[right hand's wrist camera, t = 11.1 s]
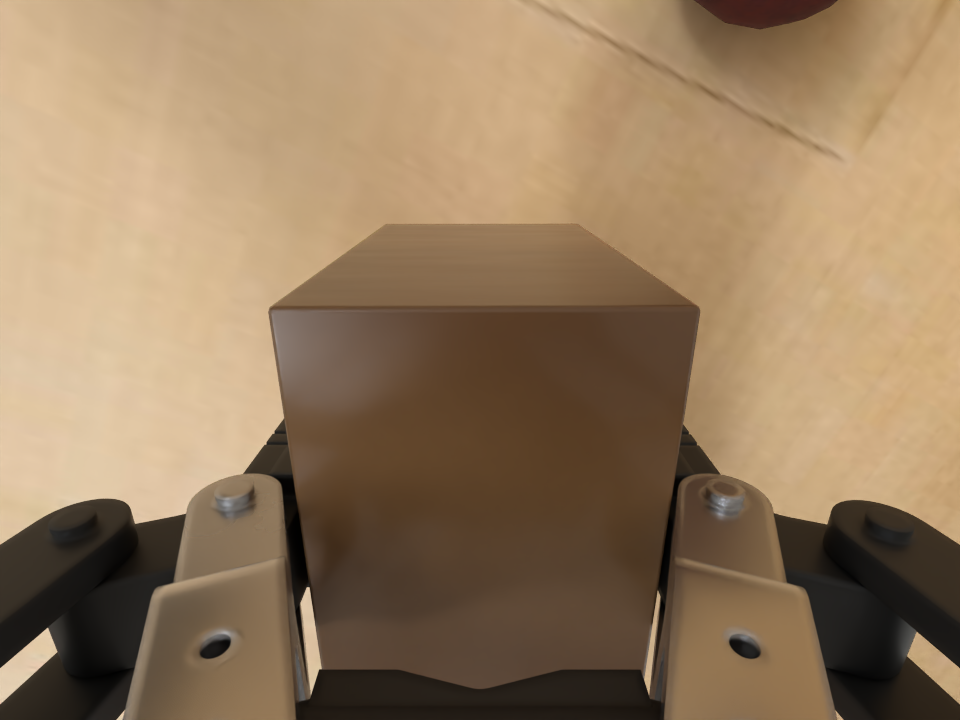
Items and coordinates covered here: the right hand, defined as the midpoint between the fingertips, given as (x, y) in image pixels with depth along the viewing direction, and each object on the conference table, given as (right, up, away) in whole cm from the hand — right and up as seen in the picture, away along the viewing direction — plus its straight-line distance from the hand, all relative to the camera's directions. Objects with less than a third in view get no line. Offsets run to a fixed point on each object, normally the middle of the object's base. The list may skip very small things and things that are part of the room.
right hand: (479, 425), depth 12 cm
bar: (0, -5, +6) cm, 8 cm away
